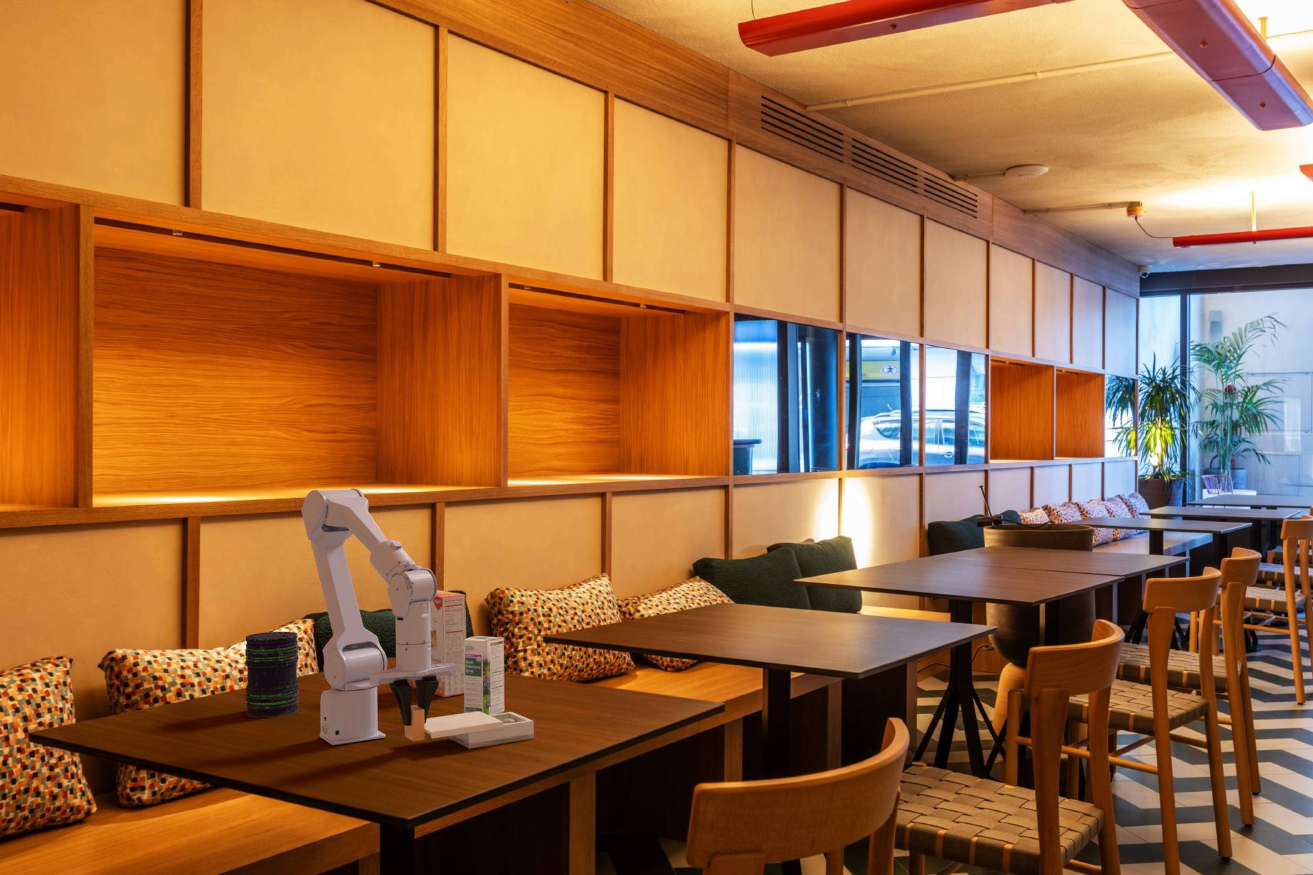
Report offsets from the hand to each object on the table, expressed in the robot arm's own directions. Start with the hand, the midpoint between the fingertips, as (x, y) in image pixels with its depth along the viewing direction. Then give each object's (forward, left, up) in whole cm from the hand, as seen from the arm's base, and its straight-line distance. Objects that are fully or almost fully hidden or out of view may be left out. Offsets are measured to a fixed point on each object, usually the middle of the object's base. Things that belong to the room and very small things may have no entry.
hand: (414, 723), depth 191 cm
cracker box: (+22, +45, -5) cm, 50 cm away
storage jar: (-12, +46, -5) cm, 48 cm away
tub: (+14, 0, -4) cm, 14 cm away
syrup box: (+21, +19, -5) cm, 29 cm away
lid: (+6, 0, -2) cm, 7 cm away
